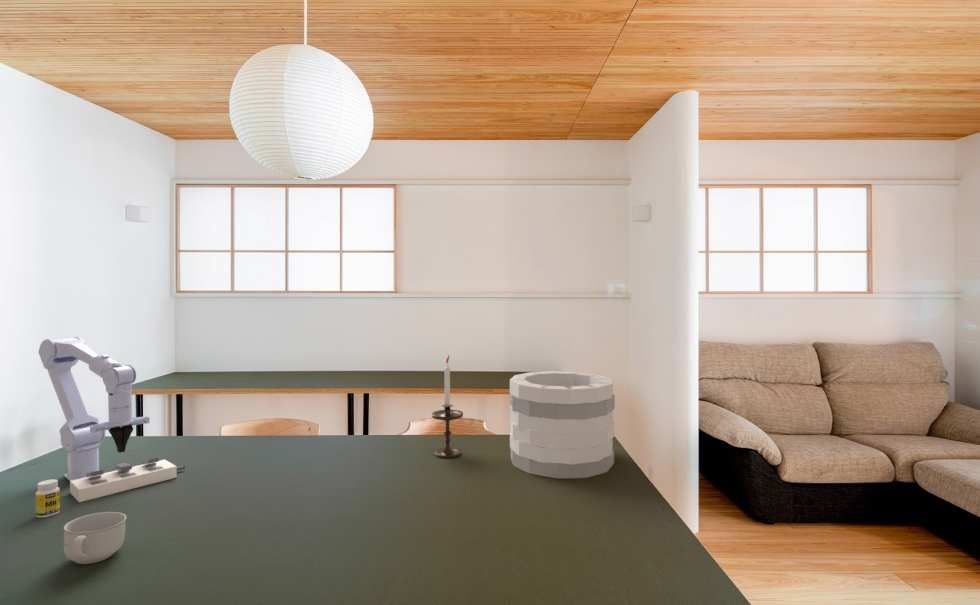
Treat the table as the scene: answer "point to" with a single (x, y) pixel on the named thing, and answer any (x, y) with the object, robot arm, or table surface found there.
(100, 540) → the teacup
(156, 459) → the block
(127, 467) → the block
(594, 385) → the storage basket
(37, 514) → the supplement bottle
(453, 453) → the candlestick
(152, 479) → the power strip
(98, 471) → the rocker
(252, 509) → the table surface
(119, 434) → the robot arm
